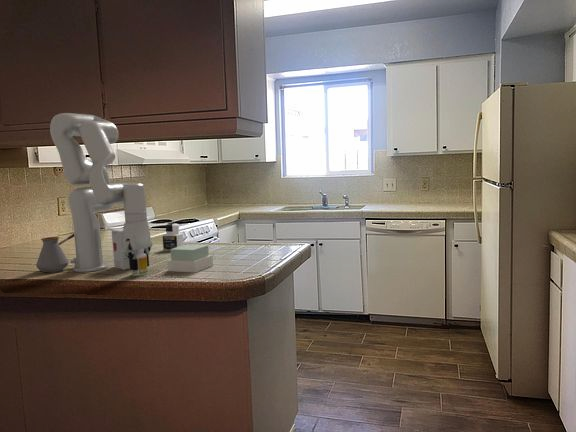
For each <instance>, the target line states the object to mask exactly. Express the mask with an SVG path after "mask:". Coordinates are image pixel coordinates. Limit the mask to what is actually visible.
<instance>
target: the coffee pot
mask: <svg viewBox="0 0 576 432" xmlns="http://www.w3.org/2000/svg"><path fill="white" fill-rule="evenodd" d="M72 238H74V233H73V234H71V235H69V236H68V237H67V238H65V239H64V240H61V241H59V239H60V236H51V237H50V236H49V237H43V238H41V239H40V240H41V241H42V243H43V244H42V247H41V250H40V253H39V256H38V258H37V261H36V264H35V266H36V268H37V269H38V270H39V271H40V272H42V273H43V272H52V273H57V272H56V271H59V272H62V271H64V270H65V269H66V268H67V266H68V265H69V262H70V261H69V260H68V257H67V256H66V254H65V252H64V251H63V249H62V246H61V245H62V244H64V243H66V242H67V241H68V240H69V241H70V239H72ZM63 269H64V270H63ZM61 270H62V271H61Z"/></svg>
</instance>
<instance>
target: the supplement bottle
mask: <svg viewBox="0 0 576 432" xmlns="http://www.w3.org/2000/svg"><path fill="white" fill-rule="evenodd" d="M136 259H137V260H138V270H131V272H132V273H131V274H132V276H135V277H141V276H146V275H148V273H149V272H148V267H147V256H146V254H145V253H144V248H143V249H140V250H137V254H136Z"/></svg>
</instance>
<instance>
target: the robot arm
mask: <svg viewBox="0 0 576 432" xmlns="http://www.w3.org/2000/svg"><path fill="white" fill-rule="evenodd" d="M49 125H50V126H49V127H50V128H49V132H50V136H51V139H52V142H53V144H54V146H55V148H56V149H57V152H58V155H59V158H60V163H61V165H62V169H63V173H64V176H65V179H66V181H67V183H69V184H70V185H72V186H83V187H77V188H75V189H73V190H71V191H70V193H69V194H68V198H67V201H68V206H69V209H70V213H71V217H72V218H71V219H72V227H73V234H74V237H73V238H74V246H75V247H74V248H75V257H73V258H72V259H71V260H70V261H69V262H70V264H74V266H72V271H73V272H75V273H85V272H86V273H88V272H96V271H101V270H104V269H107V268H108V267H109V266H108V263H105V262H104V258H103V247H102V235H101V225H100V223H101V222H100V220H99V218H98V217H97V215H96V214H95V212H98V211H99V212H100V211H106V210H109V209H111V208H112V207H113V206H114V205H122V204H123V212H124V223H123V227H122V228H123V248H124V249H123V253H124V254H126V256H127V257H128V259H129V264H130V269H129V270H130V271H132V270H138V260H137V259H136V254H137V250H140V249H143V248H144V253H145V254H146V256H147V268H148V267H150V259H149V256H150V252H151V249H152V246H153V244H154V243H153V242H152V240H151V232H150V226H149V221H148V214H147V200H146V190H145V189H146V187H145V184H143V183H139V182H138V183H129V182H121V183H120V182H115V183H111V179H110V176H109V173H108V170H107V166H109V165H111V164H112V163H113V162H114V161H115V160H116V153H115V151H114V149H113V147H112V144H115V143H117V142H118V140H119V129H118V127H117V126H116V125H115V124H114V123H113V122H111V121H109V120H106V119H104V118H102V117H99V116H96V115H94V114H85V113H72V112H64V113H63V112H62V113H59V114H56V115H54V116H53V118H52V119H51V121H50V124H49ZM74 136H75V137H80V138H81V140H82V144H84V146H85V149H86V151H87V154H88V156H89V158H90V159H88V160H87V159H86V157H85V154H84V151H83V148H82V146H81V145H80V143H79V142H78V141H77V140H76V139H74ZM86 185H87V186H86ZM84 186H86V187H84ZM132 252H133V254H132Z"/></svg>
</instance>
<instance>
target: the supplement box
mask: <svg viewBox="0 0 576 432" xmlns="http://www.w3.org/2000/svg"><path fill="white" fill-rule="evenodd" d="M111 240H112V250H113V251H112V253H113V264H114V268H118V269H120V270H123V271H124V270H130V264H129V259H128V257H127V256H126V254H124V253H123V249H124V248H123V227H122V228H113V229H111ZM132 254H133V252H132Z"/></svg>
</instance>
